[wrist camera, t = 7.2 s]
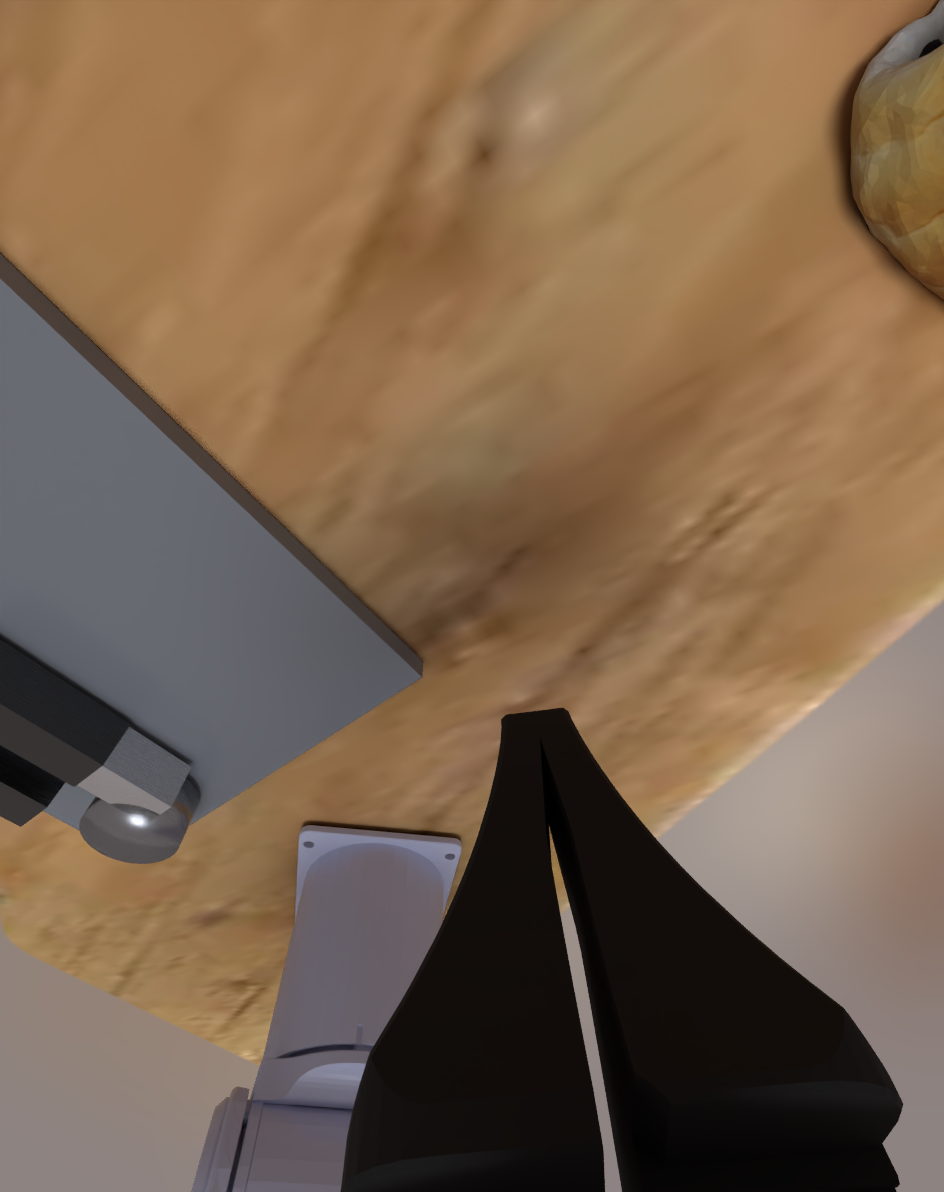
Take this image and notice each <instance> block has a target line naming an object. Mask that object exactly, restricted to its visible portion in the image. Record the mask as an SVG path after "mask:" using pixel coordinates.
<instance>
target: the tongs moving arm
mask: <svg viewBox="0 0 944 1192" xmlns="http://www.w3.org/2000/svg"><path fill="white" fill-rule="evenodd" d="M130 725H131V724H130V723H128V722H127V721H125V720H124V719H122V718H121V717H119V716H117V715H116V714H114V713H113V712H111V711H110V710H108V709H107V708H105V707H104V706H102V705H101V704H99V703H97V702H96V701H94V700H93V699H91V698H90V697H88V696H87V695H85V694H84V693H82V692H81V691H79V690H77V689H76V688H74V687H73V686H71V685H70V684H68V683H67V682H65V681H64V680H62V679H61V678H59V677H57V676H56V675H54V674H53V673H51V672H50V671H48V670H47V669H45V668H44V667H42V666H41V665H39V664H37V663H36V662H34V661H33V660H31V659H30V658H28V657H27V656H25V655H24V654H22V653H21V652H19V651H17V650H16V649H14V648H13V647H11V646H10V645H8V644H7V643H5V642H4V641H2V640H1V639H0V745H1V746H3V747H4V748H6V749H8V750H10V751H11V752H13V753H15V754H17V755H18V756H20V757H22V758H24V759H25V760H27V761H29V762H31V763H33V764H34V765H36V766H38V767H40V768H41V769H43V770H45V771H47V772H48V773H50V774H52V775H54V776H55V777H57V778H59V779H61V780H62V781H64V782H66V783H68V784H70V785H71V786H73V787H75V786H76V785H78V786H79V787H81V788H83V789H85V790H86V791H88V792H90V793H92V794H93V795H95V798H94V799H93V801H92V802H91V804H90V805H89V807H88V808H87V810H86V811H85V813H84V814H83V816H82V818H81V820H80V823H79V829H80V833H81V835H82V837H83V838H84V840H85V841H86V842H87V843H88V844H89V845H90V846H91V847H92V848H94V849H95V850H96V851H98V852H100V853H101V854H103V855H106V856H108V857H110V858H113V859H116V860H119V861H123V862H128V863H137V864H147V863H155V862H160V861H163V860H165V859H167V858H169V857H171V856H172V855H174V854H175V852H176V851H177V850H178V848H179V846H180V844H181V842H182V839H183V837H184V835H185V833H186V831H187V829H188V826H189V824H190V822H191V820H192V818H193V815H194V813H195V811H196V809H197V807H198V803H199V796H198V793H197V791H196V789H195V787H194V786H193V784H192V783H191V782H190V781H189V780H188V779H186V777H187V775H188V773H189V771H190V769H191V766H189V765H188V764H186V763H185V762H183V761H182V760H180V759H178V758H177V757H175V756H174V755H172V754H171V753H169V752H168V751H166V750H165V749H163V748H161V747H160V746H158V745H157V744H155V743H154V742H152V741H151V740H149V739H148V738H146V737H144V736H143V735H141V734H140V733H138V732H137V731H135V730H134V729H132V728H131V727H129V726H130Z"/></svg>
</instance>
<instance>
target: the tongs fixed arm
mask: <svg viewBox="0 0 944 1192" xmlns="http://www.w3.org/2000/svg"><path fill="white" fill-rule="evenodd" d="M64 784H65V782H64V781H62V780H61V779H59V778H57V777H55V776H54V775H52V774H50V773H48V772H47V771H45V770H43V769H41V768H40V767H38V766H36V765H34V764H33V763H31V762H29V761H27V760H25V759H24V758H22V757H20V756H18V755H17V754H15V753H13V752H11V751H10V750H8V749H6V748H4V747H3V746H1V745H0V816H1V817H3V818H5V819H7V820H9V821H11V822H13V823H15V824H16V825H18V826H20V827H21V826H22V825H24V824H25V823H27V822H28V821H29V820H31V819H32V818H33V817H35V816H36V815H37V814H39V813H40V812H42V811H43V810H44V809H46V808H47V807H48V806H49V804H50V803H51V801H52V800H53V799H54V797H55V796H56V795H57V793H58V792H59V790H60V789H61V788H62V786H63V785H64Z"/></svg>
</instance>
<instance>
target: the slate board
mask: <svg viewBox="0 0 944 1192" xmlns="http://www.w3.org/2000/svg"><path fill="white" fill-rule="evenodd" d="M0 639H1V640H2V641H4V642H5V643H7V644H8V645H10V646H11V647H13V648H14V649H16V650H17V651H19V652H21V653H22V654H24V655H25V656H27V657H28V658H30V659H31V660H33V661H34V662H36V663H37V664H39V665H41V666H42V667H44V668H45V669H47V670H48V671H50V672H51V673H53V674H54V675H56V676H57V677H59V678H61V679H62V680H64V681H65V682H67V683H68V684H70V685H71V686H73V687H74V688H76V689H77V690H79V691H81V692H82V693H84V694H85V695H87V696H88V697H90V698H91V699H93V700H94V701H96V702H97V703H99V704H101V705H102V706H104V707H105V708H107V709H108V710H110V711H111V712H113V713H114V714H116V715H117V716H119V717H121V718H122V719H124V720H125V721H127V722H128V723H130V724H131V725H130V726H129V727H131V728H132V729H134V730H135V731H137V732H138V733H140V734H141V735H143V736H144V737H146V738H148V739H149V740H151V741H152V742H154V743H155V744H157V745H158V746H160V747H161V748H163V749H165V750H166V751H168V752H169V753H171V754H172V755H174V756H175V757H177V758H178V759H180V760H182V761H183V762H185V763H186V764H188V765H189V766H191V769H190V771H189V773H188V775H187V777H186V779H188V780H189V781H190V782H191V783H192V784H193V786H194V787H195V789H196V791H197V793H198V796H199V803H198V807H197V809H196V811H195V813H194V815H193V818H192V820H191V822H190V824H189V825H191V824H193V823H194V822H196V821H197V820H199V819H200V818H202V817H204V816H205V815H207V814H208V813H210V812H211V811H213V810H215V809H216V808H218V807H219V806H221V805H222V804H224V803H226V802H227V801H229V800H230V799H232V798H233V797H235V796H237V795H238V794H240V793H241V792H243V791H244V790H246V789H247V788H249V787H251V786H252V785H254V784H255V783H257V782H258V781H260V780H262V779H263V778H265V777H266V776H268V775H269V774H271V773H273V772H274V771H276V770H277V769H279V768H280V767H282V766H284V765H285V764H287V763H288V762H290V761H291V760H293V759H295V758H296V757H298V756H299V755H301V754H302V753H304V752H306V751H307V750H309V749H310V748H312V747H313V746H315V745H317V744H318V743H320V742H321V741H323V740H324V739H326V738H328V737H329V736H331V735H332V734H334V733H335V732H337V731H339V730H340V729H342V728H343V727H345V726H346V725H348V724H350V723H351V722H353V721H354V720H356V719H357V718H359V717H361V716H362V715H364V714H365V713H367V712H368V711H370V710H372V709H373V708H375V707H376V706H378V705H379V704H381V703H383V702H384V701H386V700H387V699H389V698H390V697H392V696H393V695H395V694H397V693H398V692H400V691H401V690H403V689H404V688H406V687H408V686H409V685H411V684H412V683H414V682H415V681H417V680H419V679H420V678H422V672H423V661H422V660H421V659H420V658H419V657H418V656H417V655H416V654H415V653H414V652H413V651H412V650H411V649H410V648H409V647H408V646H407V645H406V644H405V643H404V642H403V641H402V640H401V639H400V638H399V637H397V636H396V635H395V634H394V633H393V632H392V631H391V630H390V629H389V628H388V627H387V626H386V625H385V624H384V623H383V622H382V621H381V620H380V619H379V618H378V617H377V616H376V615H375V614H374V613H373V612H372V611H371V610H370V609H368V608H367V607H366V606H365V605H364V604H363V603H362V602H361V601H360V600H359V599H358V598H357V597H356V596H355V595H354V594H353V593H352V592H351V591H350V590H349V589H348V588H347V587H346V586H345V585H344V584H343V583H342V582H340V581H339V580H338V579H337V578H336V577H335V576H334V575H333V574H332V573H331V572H330V571H329V570H328V569H327V568H326V567H325V566H324V565H323V564H322V563H321V562H320V561H319V560H318V559H317V558H316V557H315V556H314V555H313V554H311V553H310V552H309V551H308V550H307V549H306V548H305V547H304V546H303V545H302V544H301V543H300V542H299V541H298V540H297V539H296V538H295V537H294V536H293V535H292V534H291V533H290V532H289V531H288V530H287V529H286V528H285V527H283V526H282V525H281V524H280V523H279V522H278V521H277V520H276V519H275V518H274V517H273V516H272V515H271V514H270V513H269V512H268V511H267V510H266V509H265V508H264V507H263V506H262V505H261V504H260V503H259V502H258V501H257V500H256V499H254V498H253V497H252V496H251V495H250V494H249V493H248V492H247V491H246V490H245V489H244V488H243V487H242V486H241V485H240V484H239V483H238V482H237V481H236V480H235V479H234V478H233V477H232V476H231V475H230V474H229V473H228V472H226V471H225V470H224V469H223V468H222V467H221V466H220V465H219V464H218V463H217V462H216V461H215V460H214V459H213V458H212V457H211V456H210V455H209V454H208V453H207V452H206V451H205V450H204V449H203V448H202V447H201V446H200V445H198V444H197V443H196V442H195V441H194V440H193V439H192V438H191V437H190V436H189V435H188V434H187V433H186V432H185V431H184V430H183V429H182V428H181V427H180V426H179V425H178V424H177V423H176V422H175V421H174V420H173V419H172V418H171V417H169V416H168V415H167V414H166V413H165V412H164V411H163V410H162V409H161V408H160V407H159V406H158V405H157V404H156V403H155V402H154V401H153V400H152V399H151V398H150V397H149V396H148V395H147V394H146V393H145V392H144V391H143V390H141V389H140V388H139V387H138V386H137V385H136V384H135V383H134V382H133V381H132V380H131V379H130V378H129V377H128V376H127V375H126V374H125V373H124V372H123V371H122V370H121V369H120V368H119V367H118V366H117V365H116V364H115V363H114V362H112V361H111V360H110V359H109V358H108V357H107V356H106V355H105V354H104V353H103V352H102V351H101V350H100V349H99V348H98V347H97V346H96V345H95V344H94V343H93V342H92V341H91V340H90V339H89V338H88V337H87V336H86V335H84V334H83V333H82V332H81V331H80V330H79V329H78V328H77V327H76V326H75V325H74V324H73V323H72V322H71V321H70V320H69V319H68V318H67V317H66V316H65V315H64V314H63V313H62V312H61V311H60V310H59V309H58V308H57V307H55V306H54V305H53V304H52V303H51V302H50V301H49V300H48V299H47V298H46V297H45V296H44V295H43V294H42V293H41V292H40V291H39V290H38V289H37V288H36V287H35V286H34V285H33V284H32V283H31V282H30V281H29V280H27V279H26V278H25V277H24V276H23V275H22V274H21V273H20V272H19V271H18V270H17V269H16V268H15V267H14V266H13V265H12V264H11V263H10V262H9V261H8V260H7V259H6V258H5V257H4V256H3V255H2V254H1V253H0ZM94 798H95V795H93V794H92V793H90V792H88V791H86V790H85V789H83V788H81V787H79V786H78V785H76V786H75V787H73V786H71V785H70V784H68V783H66V782H65V784H64V785H63V786H62V788H61V789H60V790H59V792H58V793H57V795H56V796H55V797H54V799H53V800H52V801H51V803H50V804H49V806H48V807H47V808H46V809H44V810H43V811H44V812H46V813H48V814H50V815H51V816H53V817H55V818H57V819H59V820H61V821H62V822H64V823H66V824H68V825H70V826H72V827H74V828H75V829H77V830H79V831H80V829H79V823H80V820H81V818H82V816H83V814H84V813H85V811H86V810H87V808H88V807H89V805H90V804H91V802H92V801H93V799H94Z"/></svg>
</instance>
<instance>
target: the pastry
mask: <svg viewBox="0 0 944 1192" xmlns="http://www.w3.org/2000/svg"><path fill="white" fill-rule="evenodd" d="M850 136H851V185H852V194H853V197H854V199H855V201H856V203H857V206H858V208H859V210H860V212H861V213H862V215H863V217H864V219H865V221H866V223H867V225H868V227H869V232H870V233H871V234H872V235H873V236H874V237H876V238H877V239H878V240H879V241H880V242H881V243H883V244H884V245H885V246H886V247H887V249H888V251H889V253H890V254H891V255H892V256H893V257H895V258H896V259H897V260H898V261H899V262H900V263H901V264H902V265H903V266H904V268H905V269H906V270H907V271H908V272H909V273H910V274H911V275H912V276H914V277H915V278H916V279H918V280H919V281H920V282H921V283H922V284H923V285H924V286H925V287H927V288H928V289H929V290H931V291H932V292H933V293H935V294H936V295H937V296H939V297H940V298H941V299H943V300H944V0H940V1H939V2H938V4H937V6H936V7H935V9H934V10H933V11H932V12H931V13H930V14H929V15H927V16H925V17H923V18H921V19H918V20H915V21H913V22H912V23H910V24H908V25H907V26H905V27H904V28H902V29H901V30H900V31H899V32H897V33H896V34H895V35H894V36H893V37H892V38H891V40H890V41H889V42H888V43H887V45H886V46H885V47H884V48H883V49H882V50H881V51H880V52H879V53H878V54H877V55H876V56H875V57H874V58H873V59H872V60H871V61H870V63H869V64H868V66H867V68H866V70H865V72H864V75H863V77H862V79H861V81H860V84H859V86H858V88H857V91H856V93H855V97H854V101H853V110H852V122H851V135H850Z"/></svg>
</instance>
